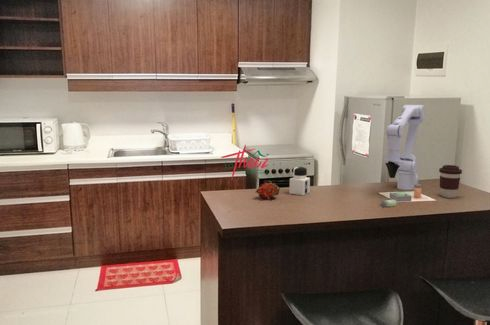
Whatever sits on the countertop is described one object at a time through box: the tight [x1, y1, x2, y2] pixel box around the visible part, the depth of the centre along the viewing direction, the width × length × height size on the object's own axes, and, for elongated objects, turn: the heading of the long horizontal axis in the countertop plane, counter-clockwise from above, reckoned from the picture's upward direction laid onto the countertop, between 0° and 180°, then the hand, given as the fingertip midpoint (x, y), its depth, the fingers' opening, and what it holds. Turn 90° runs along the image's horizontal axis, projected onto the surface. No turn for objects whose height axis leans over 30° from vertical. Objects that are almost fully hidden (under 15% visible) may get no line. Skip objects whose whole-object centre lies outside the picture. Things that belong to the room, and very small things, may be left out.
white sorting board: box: [379, 190, 437, 203], centre depth 205 cm, size 20×18×3 cm
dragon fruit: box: [255, 181, 281, 200], centre depth 203 cm, size 8×8×12 cm
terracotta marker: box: [413, 183, 423, 198], centre depth 202 cm, size 3×3×6 cm
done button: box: [395, 191, 405, 196], centre depth 199 cm, size 4×4×3 cm
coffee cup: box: [438, 164, 463, 199], centre depth 208 cm, size 10×10×15 cm
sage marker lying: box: [380, 199, 398, 209], centre depth 189 cm, size 6×3×3 cm, turn 99°
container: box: [288, 166, 311, 196], centre depth 213 cm, size 8×8×13 cm
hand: (392, 177), depth 207 cm, fingers closed
